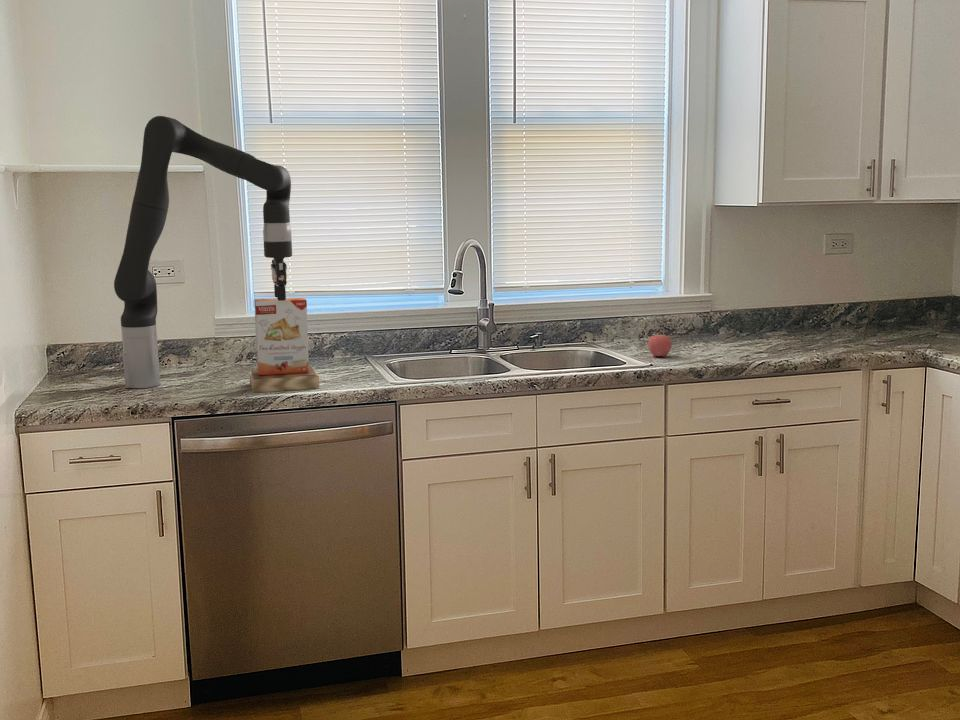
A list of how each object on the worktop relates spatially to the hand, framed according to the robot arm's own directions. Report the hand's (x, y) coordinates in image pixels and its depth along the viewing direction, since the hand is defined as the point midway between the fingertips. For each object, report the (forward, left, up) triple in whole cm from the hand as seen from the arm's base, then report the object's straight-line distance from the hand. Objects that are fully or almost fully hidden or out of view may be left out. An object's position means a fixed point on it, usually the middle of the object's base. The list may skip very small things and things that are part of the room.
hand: (280, 298), depth 255 cm
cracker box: (0, 0, -21) cm, 21 cm away
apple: (+120, +5, -25) cm, 123 cm away
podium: (0, 0, -25) cm, 25 cm away
